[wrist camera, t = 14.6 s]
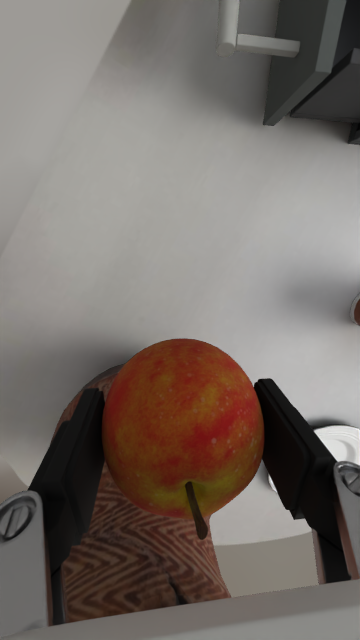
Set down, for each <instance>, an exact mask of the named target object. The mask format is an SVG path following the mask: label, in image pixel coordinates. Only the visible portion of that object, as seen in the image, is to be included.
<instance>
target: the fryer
mask: <svg viewBox="0 0 360 640" xmlns="http://www.w3.org/2000/svg"><path fill="white" fill-rule="evenodd" d="M348 143H349V144H360V123H353V124H352V128H351V132H350V136H349V140H348Z"/></svg>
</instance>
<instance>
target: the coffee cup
mask: <svg viewBox="0 0 360 640" xmlns="http://www.w3.org/2000/svg"><path fill="white" fill-rule="evenodd" d="M350 314H351V319H352V320H353V322H354V323H356V324H358V325H360V293H359V294H358V296H357V297H356V298H355V300H354V301H353V303H352V306H351V309H350Z"/></svg>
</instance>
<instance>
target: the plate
mask: <svg viewBox="0 0 360 640" xmlns="http://www.w3.org/2000/svg"><path fill="white" fill-rule="evenodd" d="M313 431H314V432H315V433H316V435H317V436H318V437H319V438H320V440H321V441H322V442H323V444H324V445H325V446H326V447H327V449H328V450H329V451H330V452H331V454H332V455H333V456H334V458H335V459H336V460H337V461H338V462H339V461H349V462H353V463H355V464H358V465H360V429H358V428H356V427H352V426H347V425H329V426H324V427H320V428H315V429H313ZM268 481H269V483H270V485H271V487H272V489H273V490H274V491H275V492H277V490H276V488H275V486H274V484H273V482H272V480H271V477H270V475H269V473H268Z"/></svg>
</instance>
